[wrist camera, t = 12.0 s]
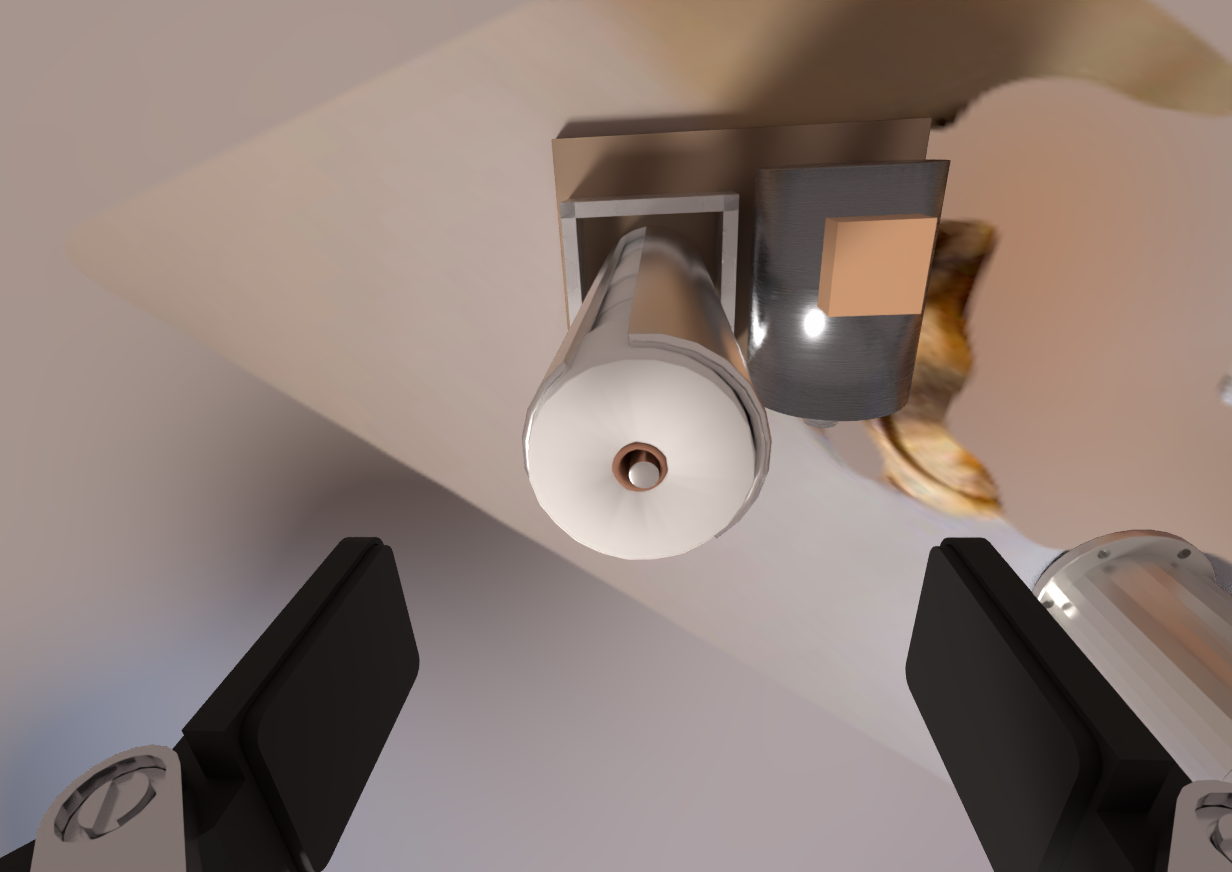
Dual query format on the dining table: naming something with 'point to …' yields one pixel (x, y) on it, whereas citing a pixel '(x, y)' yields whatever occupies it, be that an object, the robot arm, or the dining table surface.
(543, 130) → the dining table surface
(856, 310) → the motor mount
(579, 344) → the silver tall cylinder
